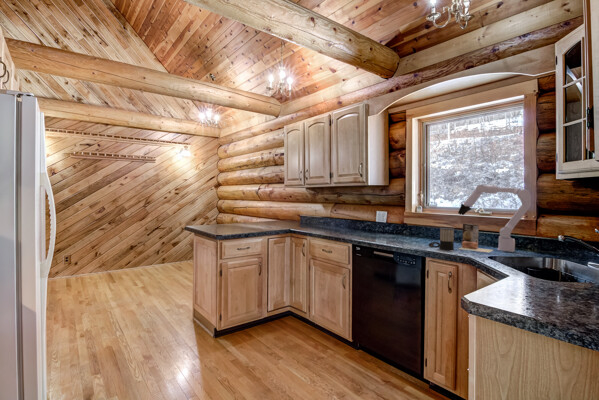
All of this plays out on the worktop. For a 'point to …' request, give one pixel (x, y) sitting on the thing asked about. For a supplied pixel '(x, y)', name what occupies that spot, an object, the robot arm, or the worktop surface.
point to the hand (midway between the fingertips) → (460, 214)
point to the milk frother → (445, 239)
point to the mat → (478, 249)
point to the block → (469, 245)
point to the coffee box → (470, 233)
